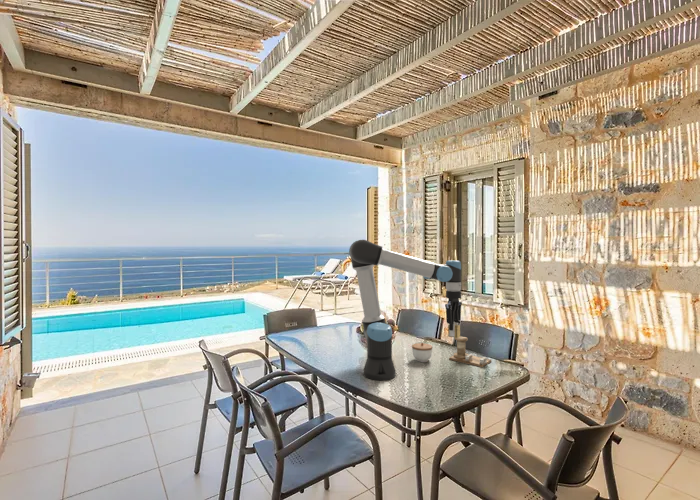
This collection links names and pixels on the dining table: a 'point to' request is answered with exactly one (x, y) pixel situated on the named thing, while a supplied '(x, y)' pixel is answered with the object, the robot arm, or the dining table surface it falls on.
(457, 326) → the tab
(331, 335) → the dining table surface
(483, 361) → the board
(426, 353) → the lidded jar
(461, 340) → the bobbin
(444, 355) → the dining table surface
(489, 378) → the dining table surface
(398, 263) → the robot arm
